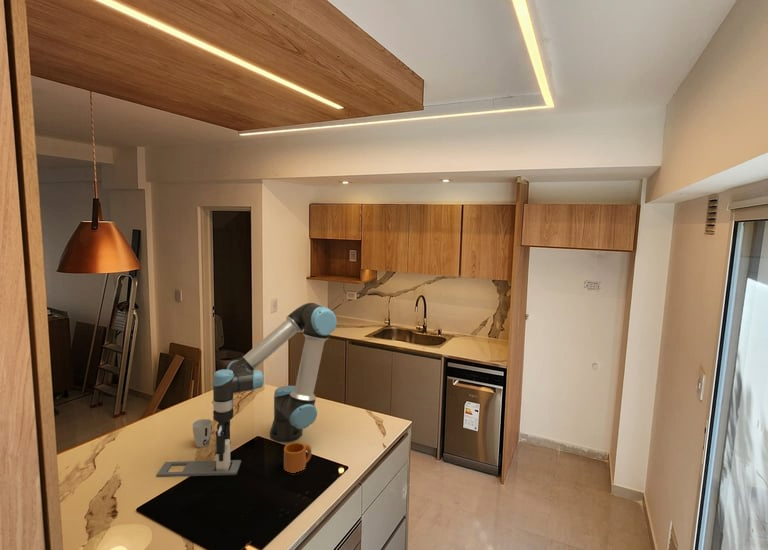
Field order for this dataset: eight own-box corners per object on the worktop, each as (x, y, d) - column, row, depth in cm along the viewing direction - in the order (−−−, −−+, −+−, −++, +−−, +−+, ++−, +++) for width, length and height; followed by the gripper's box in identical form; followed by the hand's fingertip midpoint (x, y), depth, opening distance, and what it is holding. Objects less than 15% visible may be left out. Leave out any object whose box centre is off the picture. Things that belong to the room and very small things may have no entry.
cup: (205, 450, 187) (205, 428, 186) (188, 447, 189) (188, 425, 188) (215, 441, 195) (215, 420, 194) (200, 438, 197) (199, 418, 196)
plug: (230, 464, 176) (230, 439, 175) (227, 470, 172) (227, 444, 171) (217, 464, 176) (217, 439, 174) (214, 470, 171) (214, 445, 170)
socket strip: (241, 462, 179) (241, 460, 179) (236, 474, 170) (236, 472, 170) (165, 464, 176) (165, 461, 175) (156, 476, 167) (156, 474, 167)
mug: (316, 469, 177) (316, 448, 175) (287, 476, 171) (287, 455, 169) (308, 458, 184) (309, 438, 183) (281, 465, 178) (281, 444, 177)
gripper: (219, 400, 179) (219, 452, 182) (207, 418, 162) (207, 476, 165) (237, 399, 180) (237, 452, 183) (227, 418, 163) (227, 476, 165)
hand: (223, 463), depth 174 cm, fingers closed on plug, 4 cm apart
